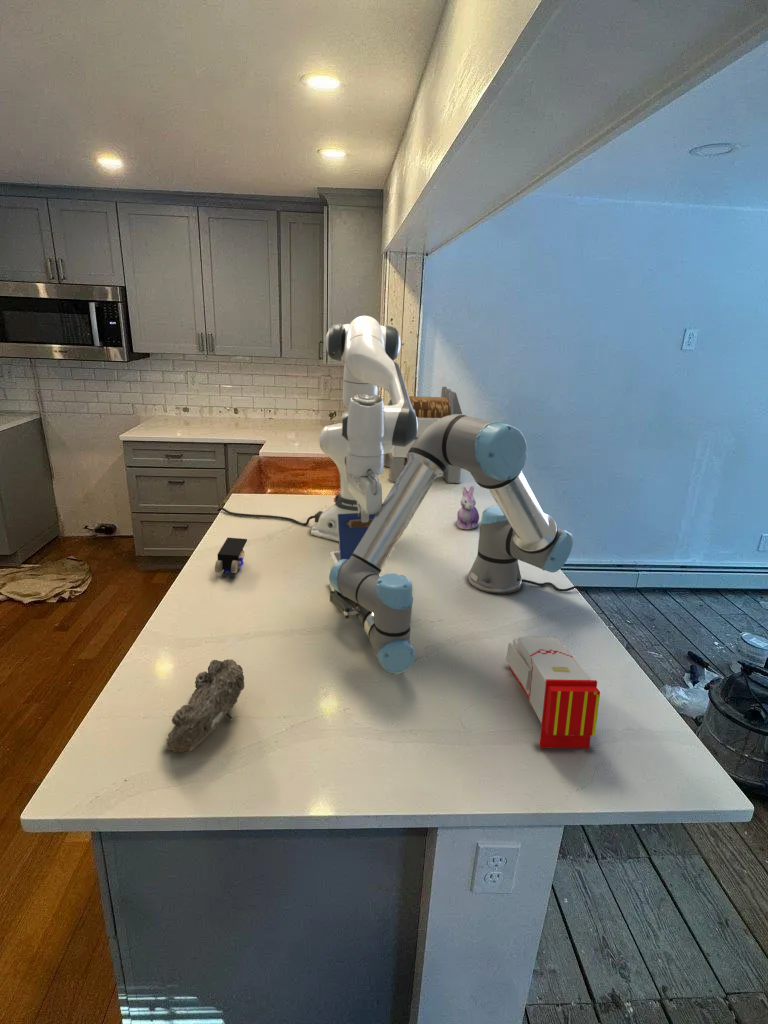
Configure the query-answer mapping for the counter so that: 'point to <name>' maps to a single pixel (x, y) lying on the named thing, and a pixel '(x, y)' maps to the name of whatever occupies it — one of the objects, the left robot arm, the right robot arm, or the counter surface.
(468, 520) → the figurine
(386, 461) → the transformer
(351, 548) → the lid
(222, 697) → the fossil
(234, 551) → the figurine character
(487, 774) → the counter surface
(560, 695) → the toy
